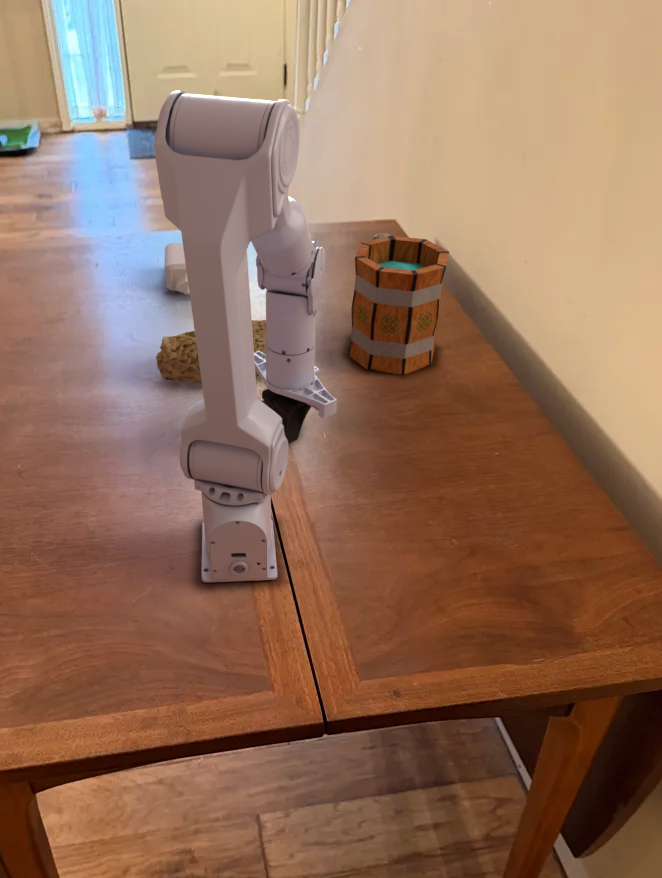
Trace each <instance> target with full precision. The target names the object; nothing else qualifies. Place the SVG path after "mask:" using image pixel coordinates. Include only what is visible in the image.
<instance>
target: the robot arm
mask: <svg viewBox="0 0 662 878" xmlns="http://www.w3.org/2000/svg"><path fill="white" fill-rule="evenodd" d="M299 123H300V122H299V117H298V113H297V111H296V109H295V108H294V106H293V105H292V103H291V102H290V100H289V99H285V98H284V99H282V98H279V99H278V100H267V99H256V98H255V99H254V98H244V97H231V96H221V95H206V94H195V93H187V92H186V91H183V90H174V91H171V93H169V95H168V96H167V98H166V99H165V101H164V102H163V104H162V105H161V108H160V110H159V113H158V119H157V124H156V131H155V136H154V144H153V149H154V158H155V165H156V170H157V179H158V182H159V183H158V184H159V190H160V197H161V200H162V204H163V211H164V216H165V218H166V219H167V220H168V221H169V222H170V223H171V224H173V225H174V226H175V228H177V229H178V230H179V231H180V233H181V241H182V242H181V243H183V249H184V257H185V264H186V271H187V278H188V286H189V293H190V294H189V299H190V308H191V314H192V321H193V329H194V331H195V337H196V344H197V351H198V358H199V366H200V373H201V380H202V381H201V386H202V394H203V398H201V399H200V400H197V402H195V403H194V404H193V405H192V406H191V407H190V408H189V410H188V412H187V413H186V415H185V417H184V419H183V421H182V424H181V427H180V430H179V431H180V448H179V449H180V450H179V464H180V469H181V470H182V472H183V474H184V476H185V478H186V479H188V480H192V481H194V489H195V490H196V491H199V492H200V493H201V503H202V504H201V505H202V516H203V517H202V518H203V522H202V523H201V582H203V583H226V582H228V583H229V582H231V583H232V582H251V581H252V582H253V581H273V580H276V579H278V565H277V564H278V563H277V554H276V543H275V541H276V540H275V533H274V521H273V519H272V495H273V494H274V493H275V492H277V491H278V490H279V489H280V487H281V486H282V484H283V481H284V478H285V475H286V472H287V468H288V461H289V460H288V459H289V450H290V449H289V445H290V444H291V443H293V442H295V441H297V440H298V439H299V436H300V433H301V430H302V427H303V424H304V421H305V419H306V417H307V415H308V414H309V412H310V410H311V409H312V408H313V409H314V410H316V411H318V413H317V414H318V415H317V416H318V417H320V418H322V420H325V419H327V418H330V417H331V416H333V415H335V414H337V405H338V399H337V398H336V397H334V396H333V395H331V393H330V392H329V391H328V390H327V388H326V387H325V386H324V384H323V383H322V381H321V380H320V379H319V377H318V375H319V374H320V368H319V367H317V366H316V365H315V362H316V361H315V359H316V335H317V334H316V333H317V311H318V308H319V306H320V304H321V298H322V288H323V287H322V286H323V281H324V277H325V272H326V250H325V247H323V246H321V247H320V246H319V243H318V241H317V240H313V239H312V236H311V232H310V229H309V225H308V222H307V219H306V215H305V212H304V210H303V208H302V206H301V204H300V203H299V202H298V201H297V200H296V199H294V197H293V196H289V188H290V185H291V183H292V181H293V179H294V176H295V173H296V168H297V164H298V159H299V152H300V151H299V150H300V124H299ZM250 243H251V244H252V246H253V248H254V251H255V253H256V258H255V266H256V278H257V285H258V288H259V289H260V290H262V291H263V290H266V291H265V320H266V354H264V353H262V352H260V351H257V352H254V346H253V332H252V320H253V319H252V318H253V317H252V306H251V305H252V304H251V293H250V292H251V291H250V276H249V262H248V247H249V245H250ZM255 371H257V373H258V374H259V375H258V376H259V378H260V379H261V381H262V383H263V384H264V385H265V387H266V388H265V389H263V390H262V391H261V398H262V399H259V397H258V391H257V390H258V389H257V378H256V377H257V375H256V374H255ZM261 400H264V401H265V402H266V404H267V405H268V406H267V405H265V404H264V403H263V402H262V401H261Z"/></svg>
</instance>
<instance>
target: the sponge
mask: <svg viewBox="0 0 662 878" xmlns="http://www.w3.org/2000/svg"><path fill="white" fill-rule="evenodd" d="M252 332H253V346H254V352H257V351H260V352H262V353H264V354H266V319H262V320H260V319H259V320H258V319H257V320H254V319H252ZM159 349H160V351H159V352H157V354H156V356H155V359H156V368H157V370H158V371H159V373H160V375H161V377H162V378H163V379H164V380H165V381H170V382H176V383H177V382H178V383H199V382H202V380H201V373H200V366H199V358H198V351H197V344H196V337H195V330H192V331H187V332H183V333H179V334H176V335H167V336H162V339H161V344H160V346H159ZM255 374H256V376H259V374H258V373H257V371H255Z"/></svg>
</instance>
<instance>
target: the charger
mask: <svg viewBox="0 0 662 878" xmlns="http://www.w3.org/2000/svg"><path fill="white" fill-rule="evenodd" d="M164 278H165V279H164V280H165V287H166V289H167V290H169V291H171V292H179V293H182V294H184V295H188V296H190V293H189V286H188V278H187V271H186V264H185V257H184V249H183V242H176V243H169V244H167V245H166V246H164Z"/></svg>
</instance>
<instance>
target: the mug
mask: <svg viewBox="0 0 662 878" xmlns="http://www.w3.org/2000/svg"><path fill="white" fill-rule="evenodd" d="M449 255H450V251H449V250H447V249H445V248H443V247H442V246H439V245H438V244H436V243H434V242H432V241H430V240H428V239H426V238H417V237H407V236H397V235H390V234H389V233H388V232H380V233H376V234H374V235H373V237H372V239H371V240H367V241H363V242H360V244H359V247H358V249H357V252H356V253H355V256H354V267H355V268H354V269H355V277H354V279H355V280H354V290H353V296H352V303H351V308H350V309H351V310H350V311H351V332H350V342H349V347H348V352H347V356H348V357H350V358H351V359H352V360H354V361H355V362H356V363H358V364H359V365H360V366H361V367H363V368H364V369H366V370H367V371H370V372H379V373H387V374H393V375H401V376H404V375H407V374H410V373H413V372H416V371H419V370H421V369H425V368H428V367H431V366H432V363H433V358H434V352H435V340H436V339H435V337H436V336H435V335H436V329H437V324H438V320H439V316H440V311H441V304H442V298H443V297H442V296H443V282H444V277H445V274H446V273H445V272H446V269H447V265H448V260H449Z"/></svg>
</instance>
